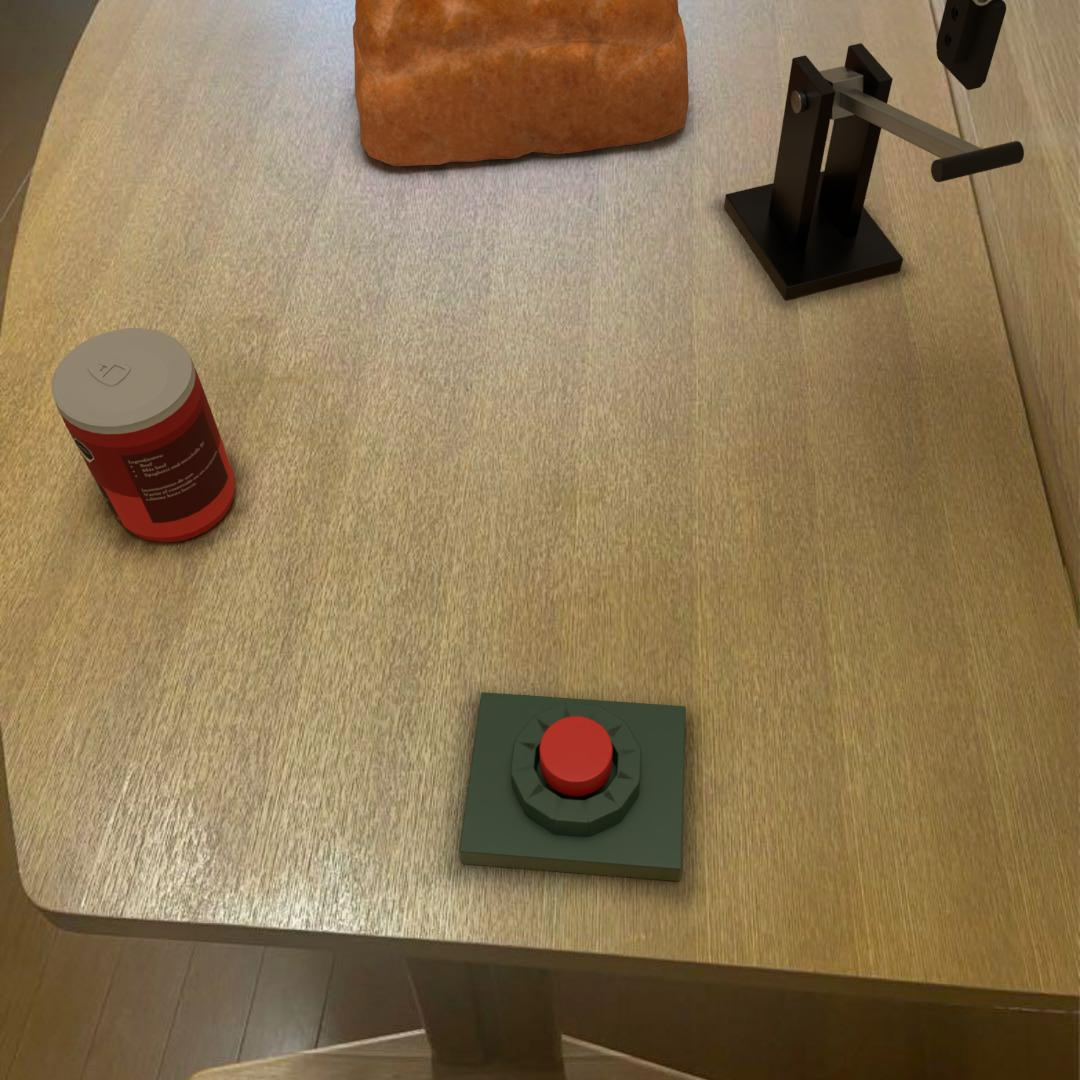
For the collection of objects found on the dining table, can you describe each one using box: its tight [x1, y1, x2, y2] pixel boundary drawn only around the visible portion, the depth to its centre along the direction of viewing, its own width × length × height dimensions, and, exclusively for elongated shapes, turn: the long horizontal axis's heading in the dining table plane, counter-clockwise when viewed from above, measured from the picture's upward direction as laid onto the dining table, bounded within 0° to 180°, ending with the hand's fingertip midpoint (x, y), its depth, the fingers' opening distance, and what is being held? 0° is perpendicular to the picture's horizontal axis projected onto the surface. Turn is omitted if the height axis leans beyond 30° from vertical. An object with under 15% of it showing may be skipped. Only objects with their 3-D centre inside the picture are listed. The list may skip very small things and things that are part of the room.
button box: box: [458, 691, 687, 882], centre depth 61 cm, size 11×9×4 cm
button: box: [540, 716, 613, 796], centre depth 59 cm, size 4×4×2 cm
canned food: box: [51, 327, 236, 543], centre depth 71 cm, size 8×8×11 cm
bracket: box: [723, 42, 904, 301], centre depth 82 cm, size 11×9×14 cm
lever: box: [818, 65, 1025, 183], centre depth 72 cm, size 18×5×2 cm, turn 18°
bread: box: [352, 0, 690, 167], centre depth 92 cm, size 14×26×16 cm, turn 97°
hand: (1054, 51), depth 54 cm, fingers open, 9 cm apart
